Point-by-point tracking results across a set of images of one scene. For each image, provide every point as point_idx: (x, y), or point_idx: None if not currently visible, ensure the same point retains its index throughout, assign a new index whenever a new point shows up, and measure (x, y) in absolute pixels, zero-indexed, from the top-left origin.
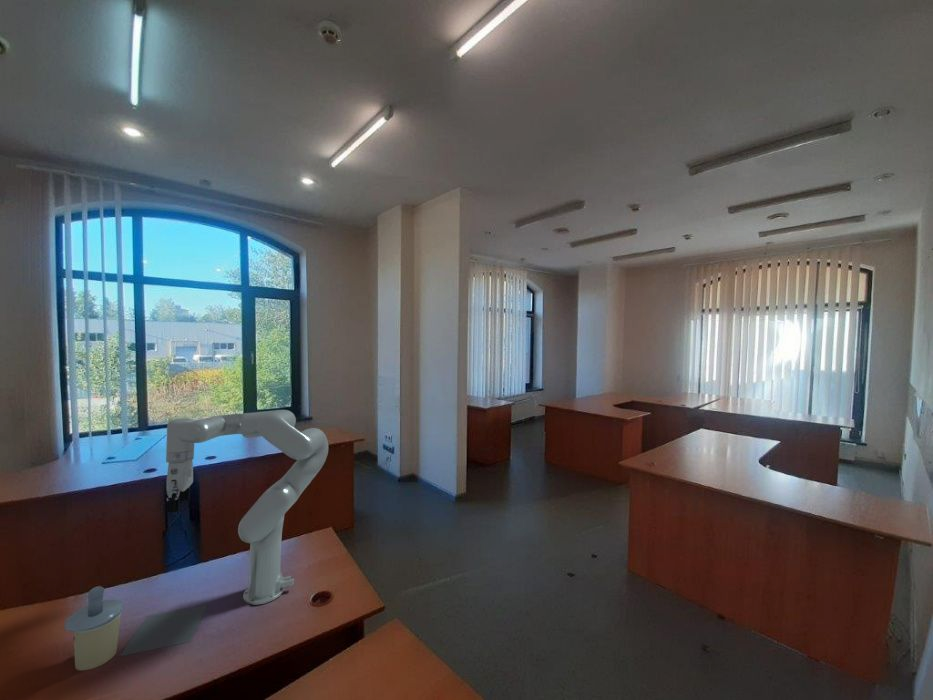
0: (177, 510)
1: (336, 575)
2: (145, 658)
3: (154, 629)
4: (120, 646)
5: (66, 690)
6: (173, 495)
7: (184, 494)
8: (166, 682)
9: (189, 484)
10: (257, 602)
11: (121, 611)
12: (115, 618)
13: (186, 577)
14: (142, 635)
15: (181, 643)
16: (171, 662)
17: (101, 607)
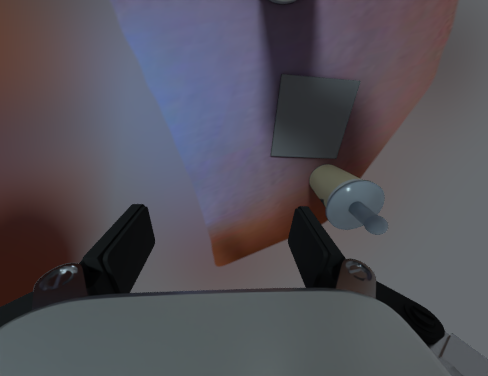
0: (306, 210)
1: None
2: (352, 131)
3: (305, 137)
4: (313, 164)
5: None
6: (434, 319)
7: (133, 247)
8: (411, 93)
9: (199, 322)
10: None
11: (352, 180)
12: None
13: (178, 133)
14: (310, 147)
15: (356, 93)
16: (379, 97)
17: (364, 205)
